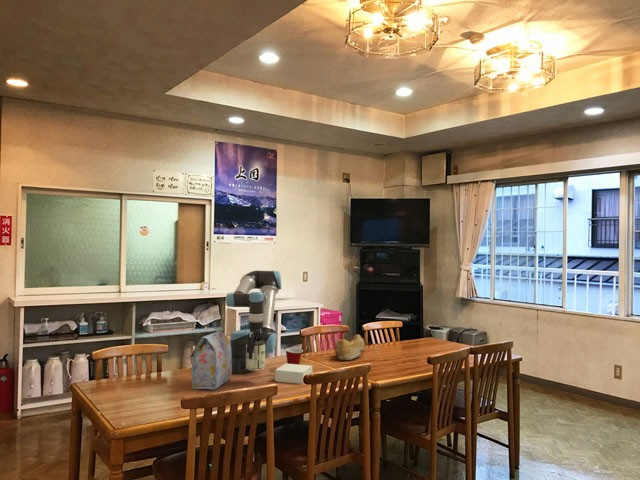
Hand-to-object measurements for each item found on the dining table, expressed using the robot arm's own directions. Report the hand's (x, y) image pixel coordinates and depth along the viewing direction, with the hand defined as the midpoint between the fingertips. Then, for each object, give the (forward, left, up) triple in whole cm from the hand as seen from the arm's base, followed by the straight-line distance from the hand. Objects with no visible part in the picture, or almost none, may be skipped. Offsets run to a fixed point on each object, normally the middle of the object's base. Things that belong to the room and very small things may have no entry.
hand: (255, 362), depth 258 cm
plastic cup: (+10, +33, -11) cm, 36 cm away
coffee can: (0, 0, -3) cm, 3 cm away
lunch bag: (-20, -11, -11) cm, 25 cm away
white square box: (+17, +14, -10) cm, 24 cm away
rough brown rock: (+32, +76, -11) cm, 83 cm away
